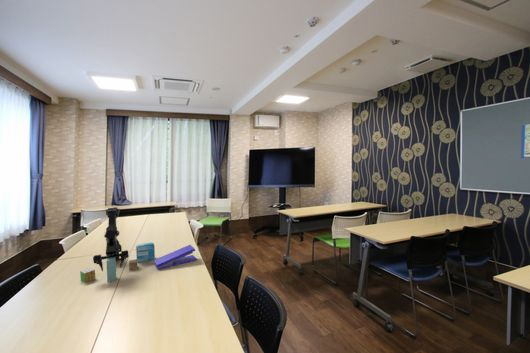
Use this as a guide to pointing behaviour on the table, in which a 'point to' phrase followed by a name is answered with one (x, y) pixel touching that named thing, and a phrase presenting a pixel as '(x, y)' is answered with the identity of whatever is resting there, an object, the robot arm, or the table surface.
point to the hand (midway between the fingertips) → (111, 269)
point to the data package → (145, 252)
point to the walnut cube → (133, 264)
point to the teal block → (111, 269)
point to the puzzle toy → (87, 274)
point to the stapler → (176, 258)
